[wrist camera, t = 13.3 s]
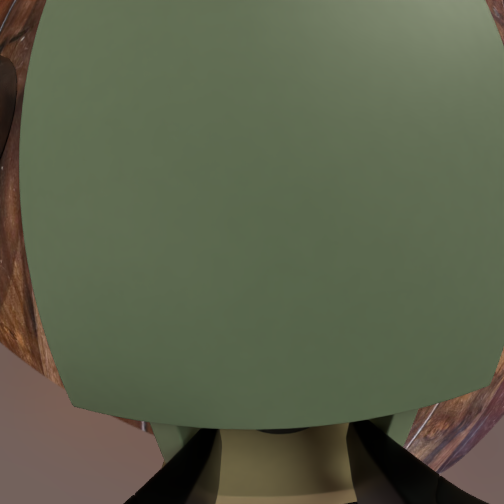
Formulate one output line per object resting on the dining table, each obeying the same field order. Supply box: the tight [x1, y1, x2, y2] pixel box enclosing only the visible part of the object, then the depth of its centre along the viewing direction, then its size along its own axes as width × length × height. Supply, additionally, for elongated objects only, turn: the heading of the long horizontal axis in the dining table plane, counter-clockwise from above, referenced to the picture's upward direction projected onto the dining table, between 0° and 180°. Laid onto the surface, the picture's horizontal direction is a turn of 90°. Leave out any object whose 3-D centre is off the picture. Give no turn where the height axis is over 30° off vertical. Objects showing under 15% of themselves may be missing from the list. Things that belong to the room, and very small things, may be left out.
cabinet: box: [19, 0, 504, 430], centre depth 8 cm, size 11×10×8 cm
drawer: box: [150, 409, 418, 504], centre depth 9 cm, size 13×8×6 cm, turn 3°
